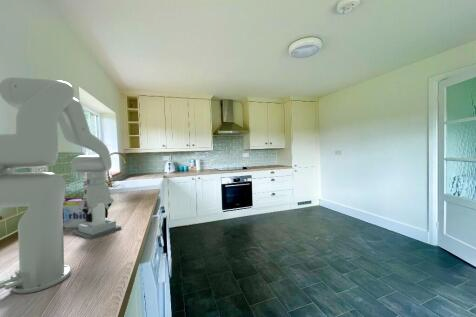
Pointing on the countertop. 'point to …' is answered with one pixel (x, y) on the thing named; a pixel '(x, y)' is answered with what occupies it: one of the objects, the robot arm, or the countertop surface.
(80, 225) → the holder
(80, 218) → the gum box
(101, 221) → the can
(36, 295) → the countertop surface
